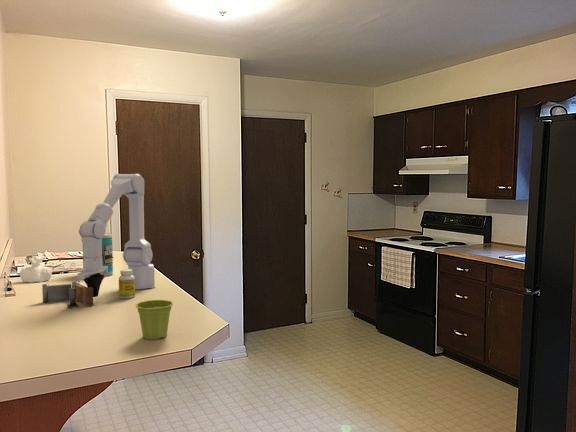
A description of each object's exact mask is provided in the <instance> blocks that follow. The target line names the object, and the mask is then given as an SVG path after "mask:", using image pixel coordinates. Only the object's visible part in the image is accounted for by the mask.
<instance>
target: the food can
mask: <svg viewBox="0 0 576 432" xmlns="http://www.w3.org/2000/svg"><path fill="white" fill-rule="evenodd" d="M113 255H114V254H113V235H112V233H110V232H105V235H104V236H103V237H102V266H108V272H103V273H100V275H104V278H106V277H110V276H112V275H113V273H114V267H113V266H114V265H113V264H114V262H113V261H114V259H113V258H114V257H113ZM82 267H83V268H82V269H84V247H83V246H82Z"/></svg>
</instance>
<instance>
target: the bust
mask: <svg viewBox="0 0 576 432" xmlns="http://www.w3.org/2000/svg"><path fill="white" fill-rule="evenodd" d="M43 260H45V257H41V256H39V255H36V256H35V255H34V256H33V257H31V258H28V261H29V262H30V264H31V266H29V267H28V266H27V267H25V268H22V269H21V270H20V271H19V277H20V280H21V281H22V282H23V283H24V282H25V283H31V284H32V283H42V282H47V281H49V280H51V278H52V275H53V269H52V268H51V267H49V266H45V265H43V266H42V265H41V264H43Z"/></svg>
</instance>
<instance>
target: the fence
mask: <svg viewBox="0 0 576 432" xmlns="http://www.w3.org/2000/svg"><path fill="white" fill-rule="evenodd" d="M76 284H80V280H78V281H71V283H63V284H54V285H52V284H51V285H50V284H49V283H43V284H41V287H42V288H41V290H42V303H43V304H46V303H55V302H56V303H57V302H65V301H69V289H70V288H75V285H76Z"/></svg>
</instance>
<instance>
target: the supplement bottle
mask: <svg viewBox="0 0 576 432" xmlns="http://www.w3.org/2000/svg"><path fill="white" fill-rule="evenodd" d="M119 271H120V272H119V273H120V276H119V277H118V296H119V298H120V299H132V298H134V297H136V289H135V278H134V276H133V275H132V270H131V269H128V268H125V269H121V270H119Z"/></svg>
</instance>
